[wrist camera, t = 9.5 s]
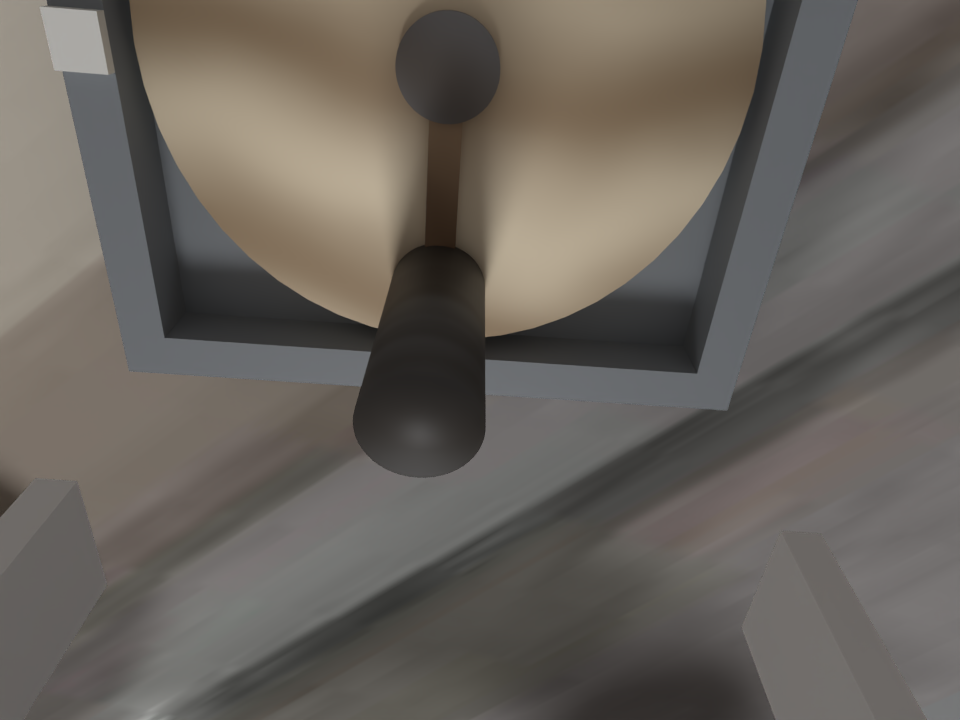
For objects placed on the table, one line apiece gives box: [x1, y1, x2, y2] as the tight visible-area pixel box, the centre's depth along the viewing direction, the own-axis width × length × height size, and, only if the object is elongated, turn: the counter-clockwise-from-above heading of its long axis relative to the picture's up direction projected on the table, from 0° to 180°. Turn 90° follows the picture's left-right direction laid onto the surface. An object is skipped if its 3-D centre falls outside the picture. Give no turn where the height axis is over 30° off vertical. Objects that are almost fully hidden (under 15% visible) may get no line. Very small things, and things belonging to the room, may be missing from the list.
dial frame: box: [40, 0, 858, 410], centre depth 21 cm, size 22×22×4 cm
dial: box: [129, 0, 766, 478], centre depth 17 cm, size 18×18×10 cm
